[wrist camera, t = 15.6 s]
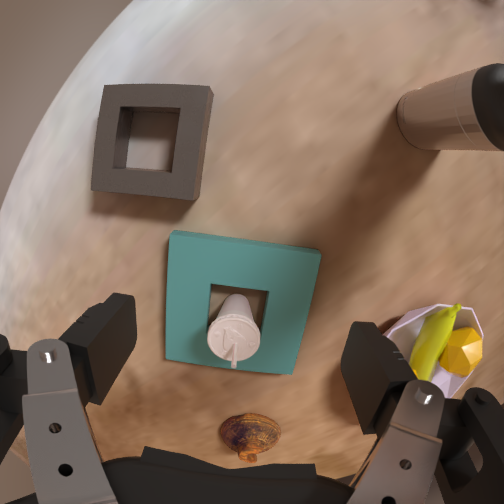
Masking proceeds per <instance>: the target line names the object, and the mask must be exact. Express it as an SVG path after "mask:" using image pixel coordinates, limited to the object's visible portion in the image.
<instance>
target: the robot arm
mask: <svg viewBox="0 0 504 504" xmlns="http://www.w3.org/2000/svg"><path fill="white" fill-rule="evenodd" d="M397 120H398V125H399V127H400V130H401V132H402V134H403V135H404V137H405V138H406V139H407V141H408V142H410V143H411V144H412V145H413V146H415V147H417V148H419V149H422V150H484V151H504V64H500V63H496V64H491V65H487V66H484V67H480V68H477V69H474V70H471V71H467V72H465V73H462V74H459V75H455V76H452V77H449V78H447V79H444V80H441V81H438V82H435V83H432V84H429V85H427V86H424V87H421V88H419V89H416V90H413V91H411V92H408V93H406V94H405V95H404V96H403V97H402V98H401V99H400V102H399V104H398V108H397ZM136 340H137V324H136V308H135V299H134V297H133V296H132V295H126V294H120V293H113V294H112V295H111V296H110V297H109V298H108V299H107V300H106V301H105V302H104V303H99V304H96V305H94V306H92V307H90V308H88V309H87V310H86V311H85V312H84V313H83V314H82V317H81V316H80V317H79V318H78V319H77V320H76V322H74V323H73V324H72V325H71V326H70V327H69V328H68V329H67V330H66V331H65V332H64V333H63V334H62V335H61V337H60V338H59V339H58V340H57V339H44V340H40V341H38V342H36V343H34V344H33V345H31V346H30V347H29V349H28V351H20V350H11V349H10V346H9V343H8V340H7V338H6V337H5V336H4V335H1V334H0V464H1V462H2V461H3V459H4V457H5V455H6V454H7V451H8V450H9V448H10V447H11V445H12V443H13V442H14V440H15V438H16V437H17V435H18V433H19V432H20V430H21V428H22V427H23V425H24V429H25V437H26V444H27V451H28V457H29V463H30V468H31V473H32V477H33V482H34V487H35V491H36V492H35V493H33V494H30V495H28V496H25V497H22V498H20V499H17V500H14V501H11V502H8V503H5V504H424V502H425V499H426V496H427V493H428V490H429V488H430V484H431V481H432V478H433V475H435V477H436V480H437V483H438V485H439V488H440V491H441V494H442V497H443V500H444V503H445V504H504V409H503V408H502V406H501V405H500V404H499V402H498V401H497V399H496V398H495V397H494V396H493V395H492V394H491V393H490V392H488V391H487V390H485V389H482V388H477V387H474V388H470V389H468V390H467V391H466V393H465V394H464V396H463V398H462V399H461V400H460V399H451V398H445V396H444V393H443V392H442V390H441V389H440V388H439V387H438V386H437V385H435V384H433V383H431V382H429V381H426V380H419V379H418V378H417V376H416V375H415V373H414V372H413V370H412V368H411V367H410V365H409V364H408V362H407V361H406V360H404V356H403V355H402V353H400V350H399V349H398V347H397V346H396V344H395V343H394V342H393V341H391V340H390V339H389V338H387V337H386V336H385V335H382V334H381V332H380V331H379V329H378V328H377V326H376V325H375V323H373V322H357V321H355V322H353V324H352V325H351V328H350V331H349V335H348V338H347V341H346V345H345V348H344V351H343V354H342V358H341V372H342V375H343V377H344V380H345V383H346V386H347V389H348V391H349V394H350V397H351V400H352V403H353V406H354V409H355V411H356V414H357V417H358V420H359V423H360V426H361V429H362V432H363V435H365V434H376V435H377V439H376V441H375V442H374V444H373V446H372V448H371V450H370V451H369V453H368V455H367V457H366V458H365V460H364V462H363V464H362V465H361V467H360V469H359V470H358V472H357V474H356V475H355V477H354V479H353V480H352V482H351V483H350V484H349V486H348V485H346V484H344V483H342V482H340V481H337V480H335V479H332V478H329V477H325V476H321V475H317V474H316V468H315V464H268V465H262V466H255V467H247V468H239V469H226V468H222V467H219V466H216V465H213V464H210V463H207V462H205V461H202V460H199V459H196V458H193V457H191V456H188V455H186V454H180V453H175V452H170V451H165V450H160V449H155V448H151V447H147V446H145V447H144V450H143V453H142V456H141V457H137V456H135V457H123V458H116V459H112V460H108V461H105V462H104V460H103V458H102V455H101V453H100V450H99V447H98V445H97V442H96V439H95V436H94V433H93V431H92V428H91V425H90V422H89V418H88V415H87V412H86V409H85V407H86V405H87V404H88V402H91V403H94V404H97V405H100V406H101V404H102V402H103V400H104V399H105V397H106V395H107V393H108V392H109V390H110V388H111V386H112V385H113V383H114V381H115V379H116V378H117V376H118V374H119V373H120V371H121V369H122V368H123V366H124V364H125V362H126V361H127V359H128V357H129V356H130V354H131V352H132V351H133V349H134V347H135V344H136ZM474 442H475V443H476V445H477V447H478V449H479V451H480V453H481V454H482V456H483V466H482V468H481V470H480V471H479V473H478V472H477V470H476V468H475V466H474V464H473V462H472V460H471V458H470V456H469V453H468V451H467V450H468V449H469V448H470V447H471V445H472V444H473V443H474Z"/></svg>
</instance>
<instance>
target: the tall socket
mask: <svg viewBox="0 0 504 504" xmlns="http://www.w3.org/2000/svg"><path fill="white" fill-rule="evenodd" d="M213 96H214V94H213V92H212V90H211V88H210V86H200V85H181V84H118V85H104V89H103V95H102V100H101V106H100V112H99V118H98V125H97V132H96V140H95V149H94V158H93V169H92V182H91V190H92V191H104V192H116V193H127V194H137V195H148V196H157V197H167V198H176V199H184V200H195V199H196V198H198V197H199V195H200V187H201V179H202V171H203V163H204V156H205V149H206V141H207V135H208V128H209V121H210V115H211V108H212V102H213ZM133 112H168V113H180V116H179V123H178V129H177V136H176V143H175V151H174V159H173V167H172V171H164V170H153V169H140V168H126V161H127V152H128V144H129V136H130V129H131V122H132V115H133Z"/></svg>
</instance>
